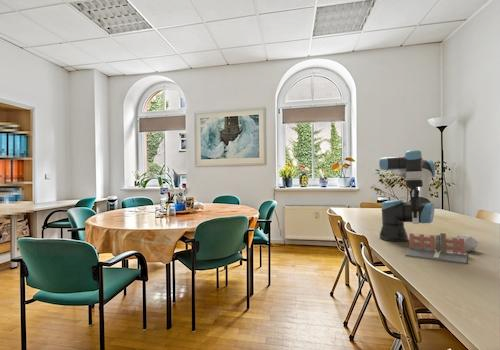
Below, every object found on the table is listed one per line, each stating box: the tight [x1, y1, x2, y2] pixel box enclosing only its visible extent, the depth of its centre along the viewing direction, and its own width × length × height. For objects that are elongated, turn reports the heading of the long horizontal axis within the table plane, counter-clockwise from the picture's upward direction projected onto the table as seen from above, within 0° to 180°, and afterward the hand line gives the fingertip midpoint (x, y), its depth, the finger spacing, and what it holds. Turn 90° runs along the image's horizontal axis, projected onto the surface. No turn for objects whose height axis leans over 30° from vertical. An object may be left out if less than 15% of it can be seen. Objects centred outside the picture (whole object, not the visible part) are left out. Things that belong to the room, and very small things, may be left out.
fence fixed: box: [439, 232, 465, 254], centre depth 130 cm, size 9×2×9 cm, turn 51°
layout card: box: [404, 246, 468, 265], centre depth 131 cm, size 20×23×1 cm
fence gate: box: [408, 232, 441, 251], centre depth 137 cm, size 13×2×7 cm, turn 51°
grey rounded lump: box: [456, 234, 479, 253], centre depth 135 cm, size 8×9×10 cm
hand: (415, 223), depth 145 cm, fingers closed
